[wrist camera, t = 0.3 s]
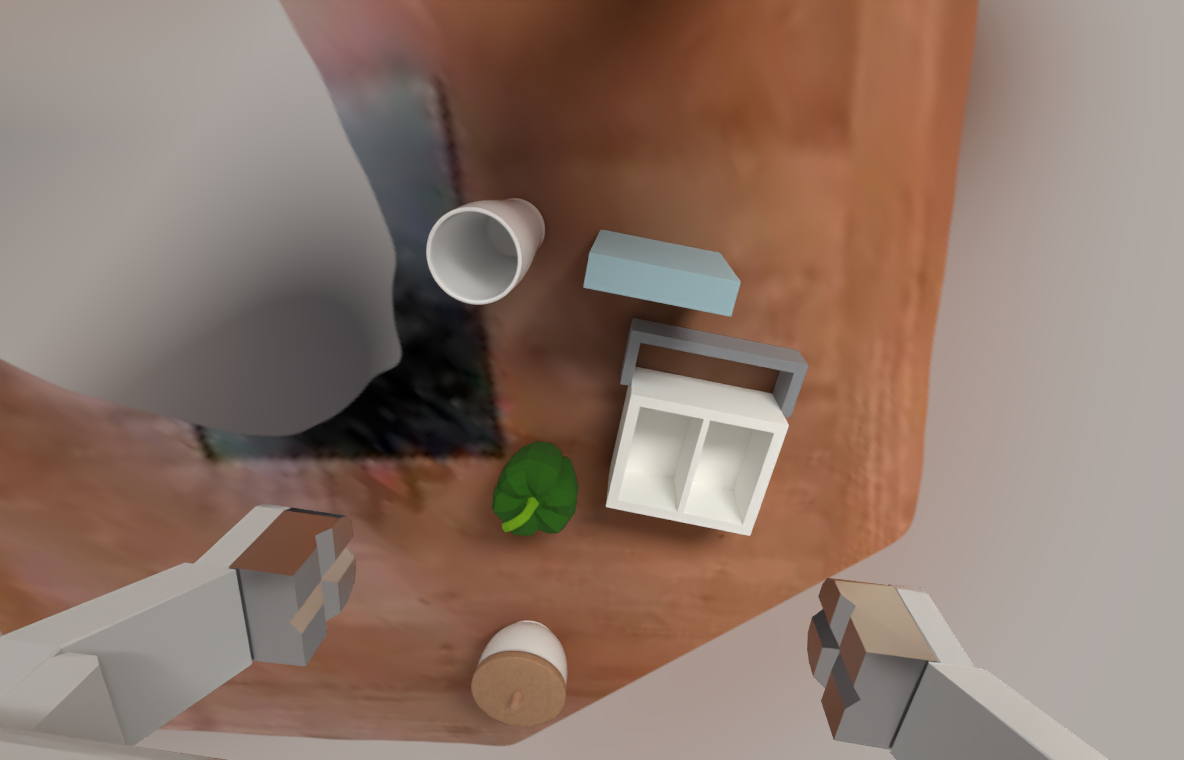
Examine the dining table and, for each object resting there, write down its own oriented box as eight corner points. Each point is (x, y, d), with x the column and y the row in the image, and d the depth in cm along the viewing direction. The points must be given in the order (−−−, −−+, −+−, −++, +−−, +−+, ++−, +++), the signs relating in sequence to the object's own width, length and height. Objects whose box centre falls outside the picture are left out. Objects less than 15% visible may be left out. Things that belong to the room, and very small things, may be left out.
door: (600, 229, 53) (589, 252, 41) (720, 252, 52) (740, 282, 41) (595, 257, 54) (583, 287, 42) (712, 280, 53) (731, 316, 42)
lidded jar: (470, 634, 72) (446, 701, 64) (528, 590, 69) (511, 654, 60) (532, 683, 75) (517, 754, 66) (591, 643, 71) (584, 712, 63)
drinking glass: (567, 243, 53) (541, 279, 39) (505, 277, 55) (459, 322, 41) (530, 174, 51) (488, 186, 37) (466, 211, 53) (404, 236, 39)
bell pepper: (575, 425, 60) (563, 476, 51) (588, 492, 63) (579, 552, 54) (497, 434, 61) (472, 485, 52) (513, 500, 64) (492, 559, 55)
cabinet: (632, 317, 55) (631, 340, 49) (797, 350, 55) (818, 377, 49) (600, 467, 62) (595, 504, 55) (748, 496, 62) (760, 537, 55)
